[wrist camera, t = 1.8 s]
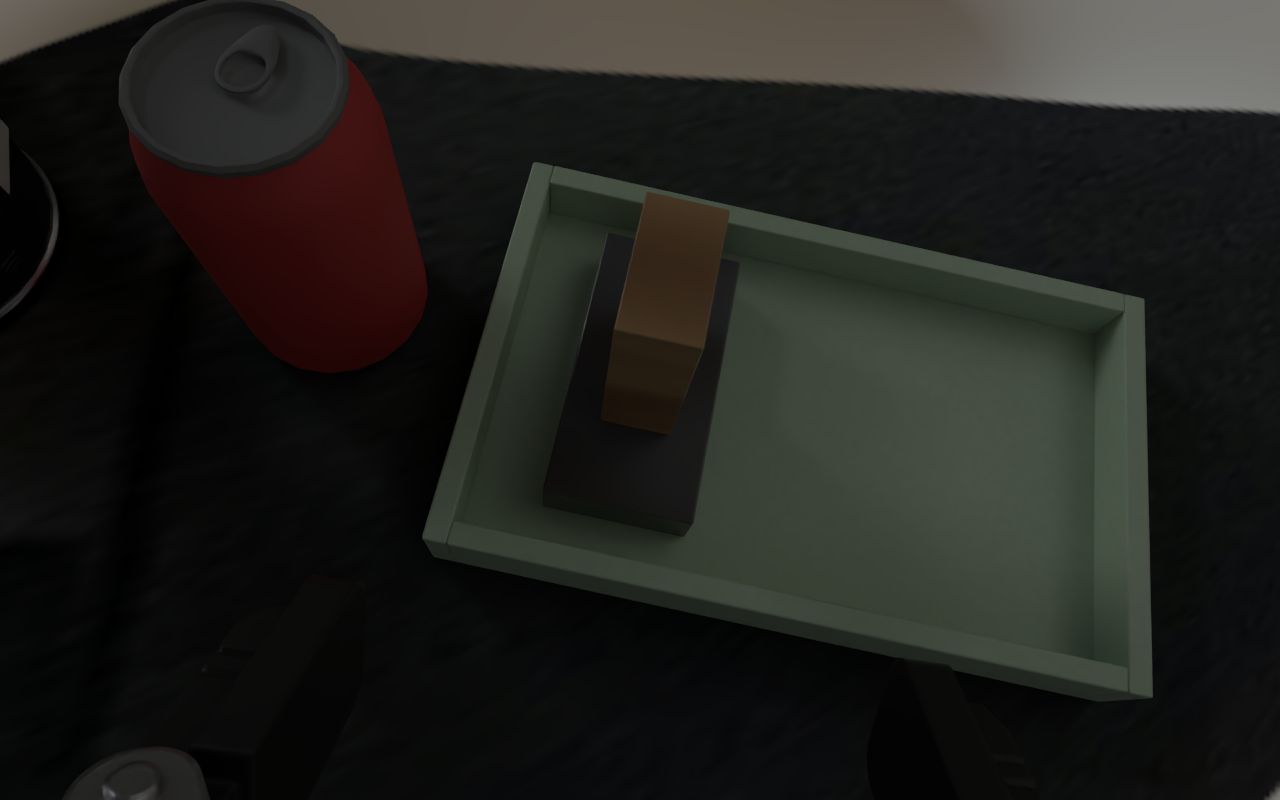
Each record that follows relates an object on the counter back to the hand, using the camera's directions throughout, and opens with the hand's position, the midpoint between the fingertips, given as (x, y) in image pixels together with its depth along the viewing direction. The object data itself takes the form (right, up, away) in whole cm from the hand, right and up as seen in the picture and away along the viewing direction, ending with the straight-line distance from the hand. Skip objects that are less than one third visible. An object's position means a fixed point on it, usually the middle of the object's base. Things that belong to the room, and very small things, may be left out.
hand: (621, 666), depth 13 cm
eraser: (0, +4, +19) cm, 19 cm away
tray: (+6, +3, +20) cm, 21 cm away
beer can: (-11, +8, +20) cm, 24 cm away
